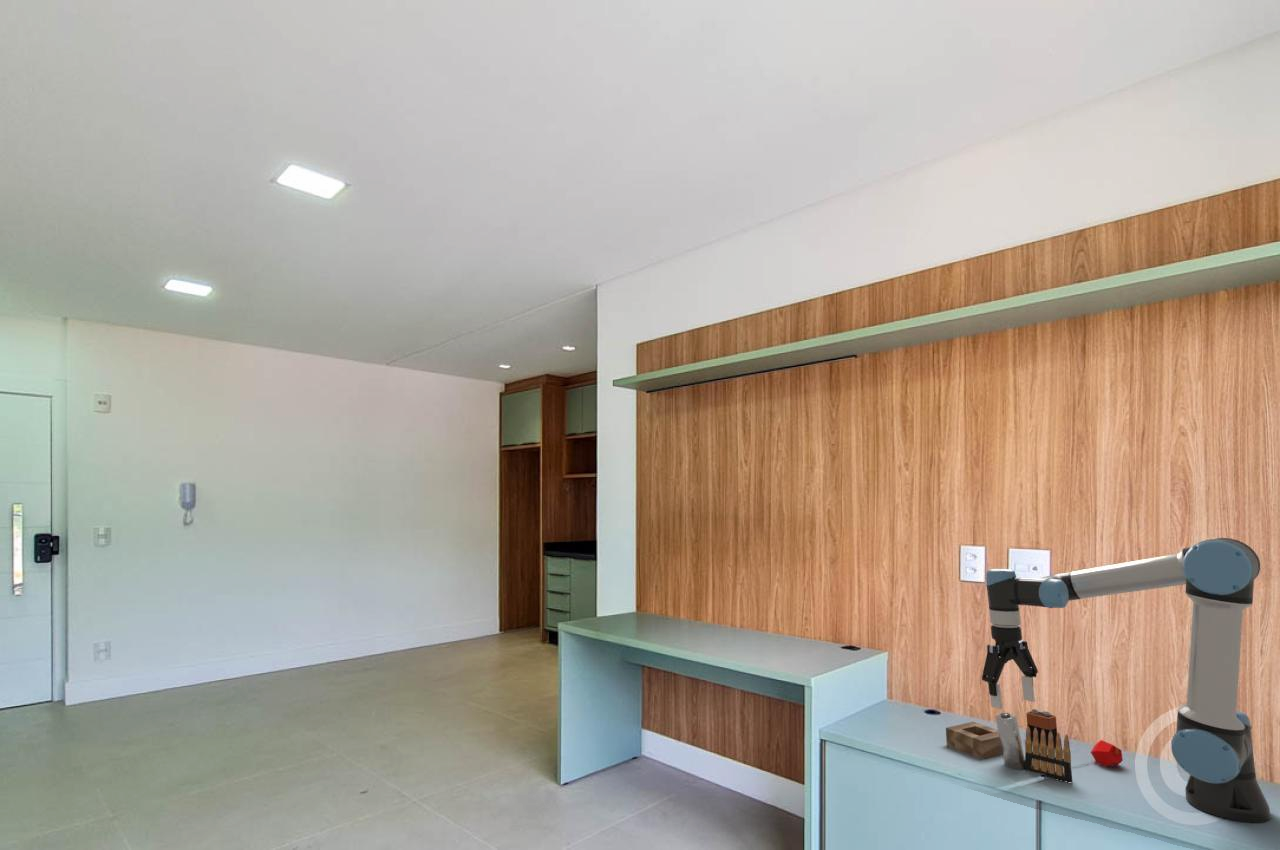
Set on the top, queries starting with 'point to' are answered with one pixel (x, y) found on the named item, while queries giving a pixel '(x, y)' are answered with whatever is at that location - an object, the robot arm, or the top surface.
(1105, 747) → the apple
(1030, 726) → the battery
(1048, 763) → the ammunition clip
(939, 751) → the top surface
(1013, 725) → the silver metal cylinder
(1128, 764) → the top surface
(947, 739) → the box
